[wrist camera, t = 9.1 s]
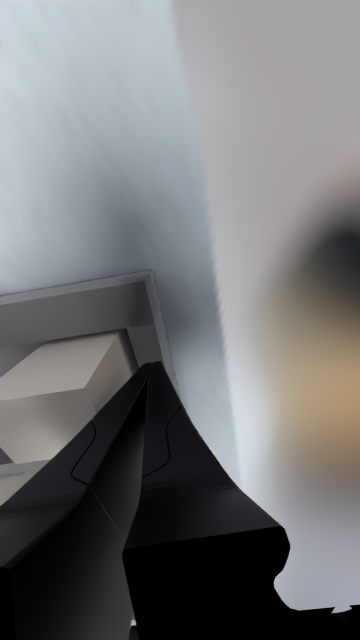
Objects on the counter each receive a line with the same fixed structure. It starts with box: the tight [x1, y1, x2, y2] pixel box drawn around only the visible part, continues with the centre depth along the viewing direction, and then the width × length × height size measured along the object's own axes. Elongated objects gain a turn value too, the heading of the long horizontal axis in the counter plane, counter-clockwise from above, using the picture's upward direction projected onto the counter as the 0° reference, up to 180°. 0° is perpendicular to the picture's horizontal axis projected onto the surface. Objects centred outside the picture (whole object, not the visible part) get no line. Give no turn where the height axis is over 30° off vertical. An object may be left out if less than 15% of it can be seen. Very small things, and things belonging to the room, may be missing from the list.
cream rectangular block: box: [0, 328, 138, 464], centre depth 9 cm, size 3×4×5 cm
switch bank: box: [0, 270, 181, 476], centre depth 13 cm, size 18×20×4 cm
